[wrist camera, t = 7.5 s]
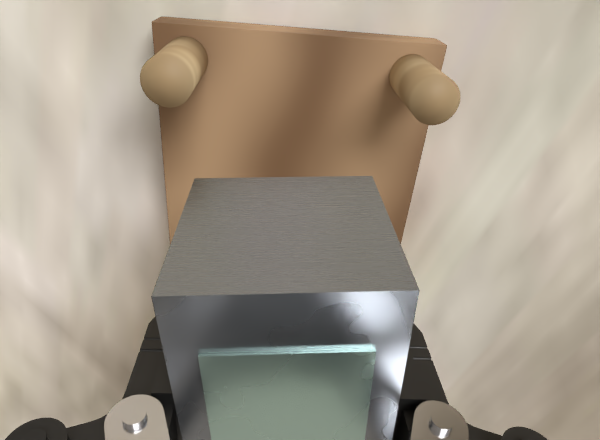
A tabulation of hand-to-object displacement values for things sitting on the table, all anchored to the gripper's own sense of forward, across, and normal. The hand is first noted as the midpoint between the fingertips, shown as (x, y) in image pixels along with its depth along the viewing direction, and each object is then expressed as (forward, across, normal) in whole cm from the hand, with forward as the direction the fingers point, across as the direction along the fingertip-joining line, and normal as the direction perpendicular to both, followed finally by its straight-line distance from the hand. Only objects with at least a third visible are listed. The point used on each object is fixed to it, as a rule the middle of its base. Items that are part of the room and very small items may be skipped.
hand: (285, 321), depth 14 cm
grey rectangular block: (+1, 0, 0) cm, 1 cm away
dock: (+9, 0, 0) cm, 9 cm away
